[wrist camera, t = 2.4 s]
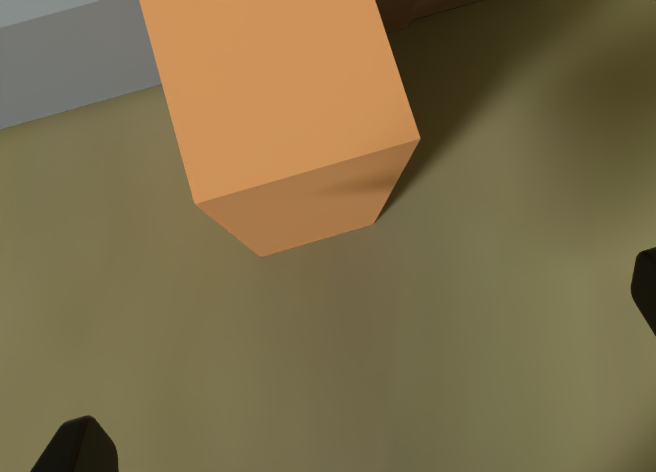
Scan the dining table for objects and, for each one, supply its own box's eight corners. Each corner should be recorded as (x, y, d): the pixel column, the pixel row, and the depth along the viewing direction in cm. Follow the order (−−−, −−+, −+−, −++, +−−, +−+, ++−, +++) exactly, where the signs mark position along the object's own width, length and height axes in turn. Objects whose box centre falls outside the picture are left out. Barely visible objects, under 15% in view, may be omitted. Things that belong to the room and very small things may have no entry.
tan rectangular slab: (373, 224, 22) (420, 138, 11) (260, 257, 22) (194, 204, 11) (329, 80, 23) (331, -133, 12) (219, 111, 22) (118, -76, 12)
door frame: (548, -13, 23) (644, -152, 16) (-401, 254, 22) (-745, 227, 15) (532, -57, 23) (619, -212, 16) (-407, 204, 22) (-749, 155, 15)
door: (347, 35, 23) (355, -75, 16) (-188, 185, 22) (-405, 132, 15) (327, -26, 23) (328, -158, 16) (-200, 119, 22) (-417, 40, 16)
